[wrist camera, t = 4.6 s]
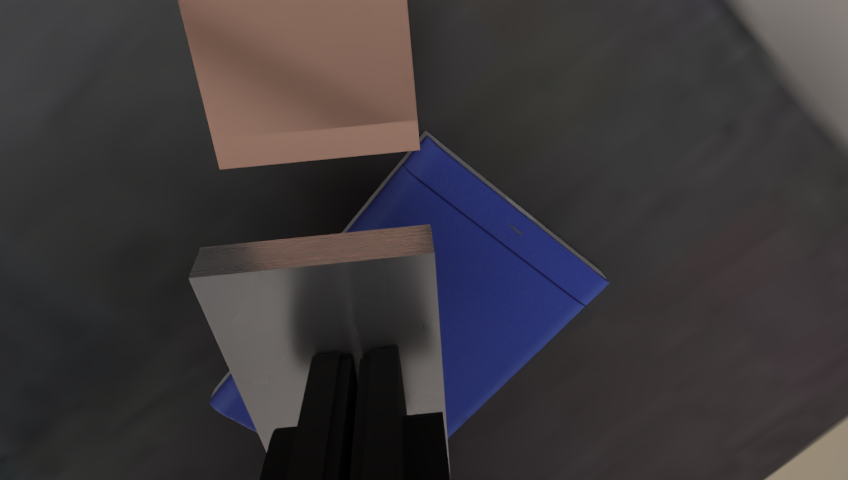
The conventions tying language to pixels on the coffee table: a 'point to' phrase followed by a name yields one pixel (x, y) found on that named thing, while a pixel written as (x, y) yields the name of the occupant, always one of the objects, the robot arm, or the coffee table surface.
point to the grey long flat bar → (322, 314)
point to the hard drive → (472, 276)
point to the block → (303, 78)
